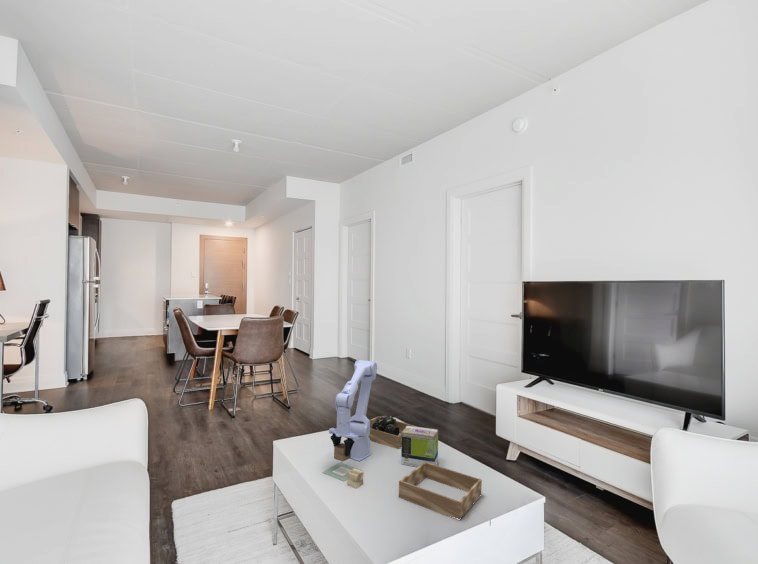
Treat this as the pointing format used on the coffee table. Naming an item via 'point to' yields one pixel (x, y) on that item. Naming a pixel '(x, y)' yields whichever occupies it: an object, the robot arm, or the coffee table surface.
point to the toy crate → (436, 500)
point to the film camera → (386, 425)
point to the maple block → (355, 478)
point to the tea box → (419, 446)
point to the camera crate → (387, 434)
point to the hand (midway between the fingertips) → (342, 453)
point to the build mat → (339, 471)
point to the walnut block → (340, 452)
